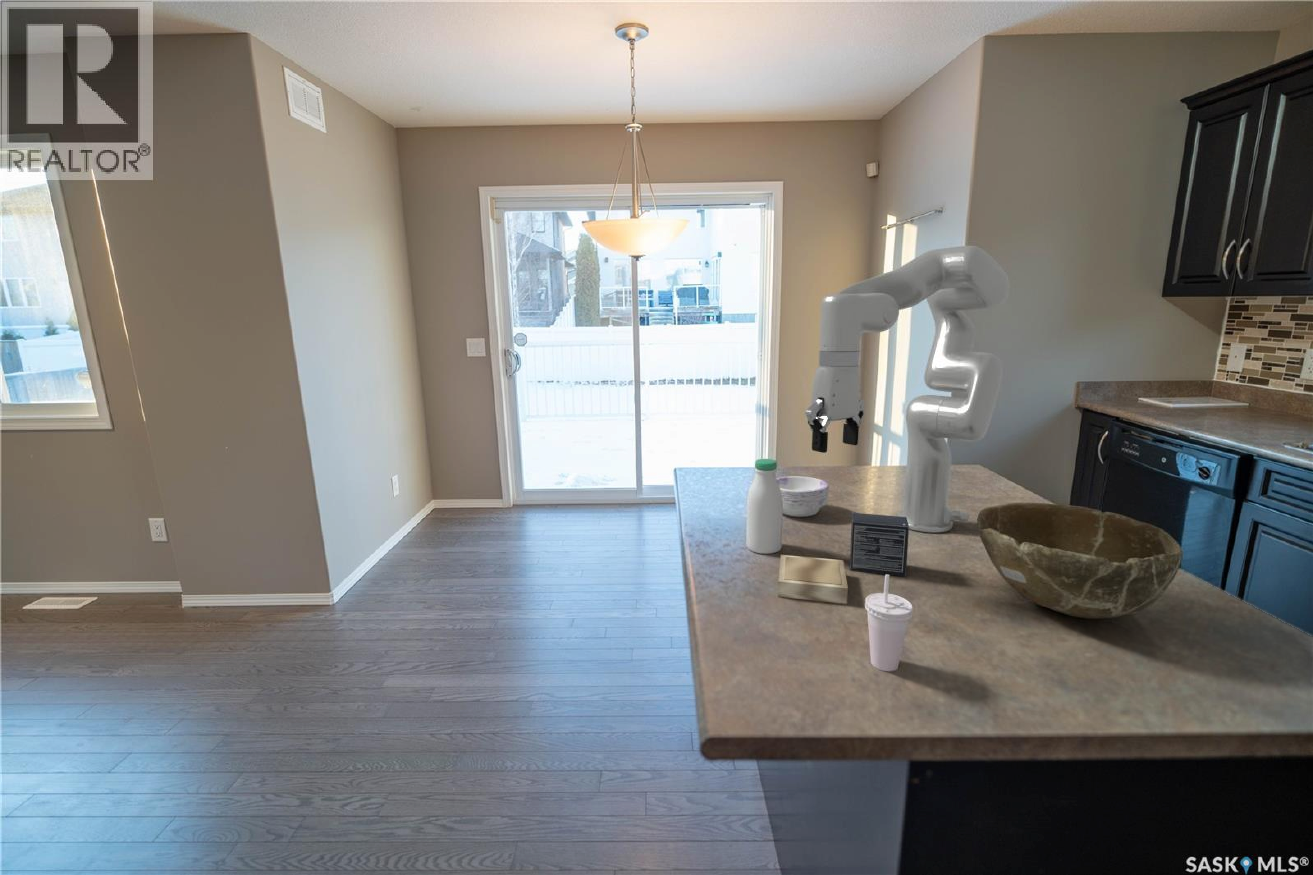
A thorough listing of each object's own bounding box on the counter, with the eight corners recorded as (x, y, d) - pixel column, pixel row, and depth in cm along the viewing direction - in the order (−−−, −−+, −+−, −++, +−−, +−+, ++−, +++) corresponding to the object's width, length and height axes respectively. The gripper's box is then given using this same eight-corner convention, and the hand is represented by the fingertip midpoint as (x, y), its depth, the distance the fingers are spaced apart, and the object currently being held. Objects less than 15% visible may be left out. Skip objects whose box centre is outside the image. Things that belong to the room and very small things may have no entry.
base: (842, 574, 109) (843, 559, 109) (846, 603, 98) (847, 587, 97) (780, 568, 112) (780, 554, 112) (777, 596, 101) (778, 580, 100)
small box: (903, 564, 114) (907, 515, 112) (906, 577, 108) (910, 526, 106) (849, 557, 117) (852, 510, 115) (849, 570, 111) (852, 521, 109)
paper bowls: (773, 500, 155) (773, 472, 154) (829, 505, 150) (830, 477, 148) (763, 517, 142) (763, 488, 140) (824, 524, 136) (826, 493, 134)
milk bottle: (781, 556, 118) (784, 465, 114) (745, 553, 120) (746, 464, 116) (781, 542, 126) (783, 456, 122) (746, 540, 127) (748, 455, 123)
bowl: (997, 639, 87) (1008, 549, 84) (955, 566, 112) (962, 496, 109) (1213, 665, 79) (1234, 568, 76) (1116, 581, 105) (1128, 506, 102)
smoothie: (853, 652, 84) (859, 566, 81) (894, 649, 84) (901, 564, 82) (873, 678, 78) (880, 586, 75) (917, 675, 78) (925, 584, 75)
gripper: (849, 357, 114) (845, 438, 117) (793, 362, 104) (790, 451, 107) (883, 358, 108) (877, 444, 111) (827, 364, 98) (822, 458, 101)
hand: (835, 447), depth 109 cm, fingers open, 9 cm apart
